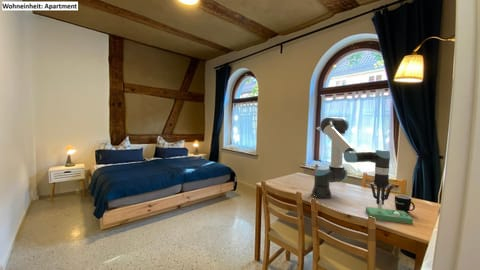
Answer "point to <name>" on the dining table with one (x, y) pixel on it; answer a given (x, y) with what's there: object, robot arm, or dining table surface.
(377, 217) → the green
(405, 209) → the mug
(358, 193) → the dining table surface
